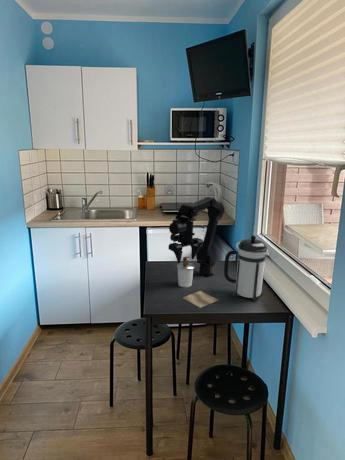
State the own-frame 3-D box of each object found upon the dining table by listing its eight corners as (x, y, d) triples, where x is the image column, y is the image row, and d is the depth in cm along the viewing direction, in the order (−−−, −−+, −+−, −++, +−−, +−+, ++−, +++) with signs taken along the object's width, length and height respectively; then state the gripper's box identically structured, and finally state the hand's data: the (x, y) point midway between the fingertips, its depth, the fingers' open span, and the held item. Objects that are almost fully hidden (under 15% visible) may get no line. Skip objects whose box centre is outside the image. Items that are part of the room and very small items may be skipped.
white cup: (191, 289, 163) (192, 270, 160) (175, 287, 164) (176, 268, 161) (193, 282, 170) (194, 264, 167) (178, 281, 172) (179, 263, 169)
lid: (185, 262, 171) (186, 253, 169) (198, 267, 164) (198, 258, 163) (172, 266, 165) (173, 257, 163) (185, 271, 158) (185, 262, 157)
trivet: (200, 291, 160) (200, 290, 160) (218, 300, 152) (218, 299, 152) (182, 298, 153) (182, 297, 153) (200, 308, 144) (200, 307, 144)
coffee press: (255, 287, 167) (260, 229, 159) (269, 302, 151) (276, 239, 143) (222, 289, 164) (226, 230, 156) (233, 304, 148) (238, 240, 140)
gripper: (189, 224, 171) (188, 252, 175) (161, 229, 159) (160, 260, 164) (205, 229, 163) (203, 258, 167) (176, 235, 151) (175, 267, 155)
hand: (185, 261), depth 164 cm, fingers open, 9 cm apart
